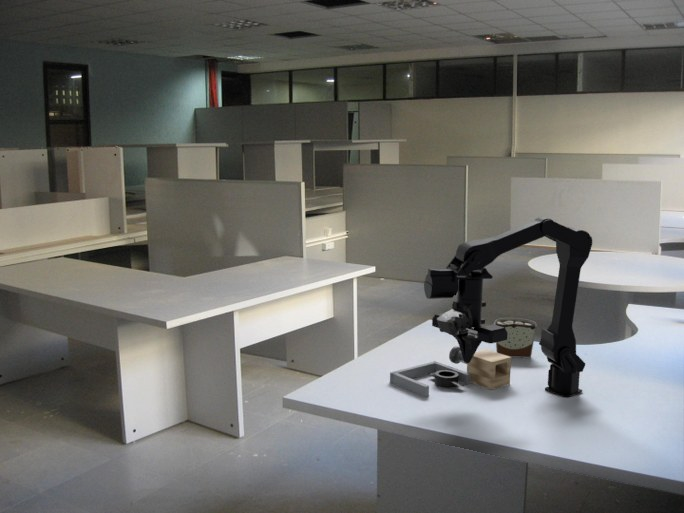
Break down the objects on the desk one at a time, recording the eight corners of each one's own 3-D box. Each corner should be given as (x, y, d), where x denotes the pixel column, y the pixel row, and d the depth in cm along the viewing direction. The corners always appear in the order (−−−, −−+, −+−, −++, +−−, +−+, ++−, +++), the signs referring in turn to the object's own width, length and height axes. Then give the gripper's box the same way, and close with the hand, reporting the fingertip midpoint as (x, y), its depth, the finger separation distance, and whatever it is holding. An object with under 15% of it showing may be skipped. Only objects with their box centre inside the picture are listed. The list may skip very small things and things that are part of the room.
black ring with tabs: (434, 392, 168) (434, 380, 168) (427, 378, 178) (428, 367, 178) (465, 392, 169) (466, 380, 168) (457, 378, 179) (458, 367, 178)
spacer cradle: (470, 383, 174) (470, 373, 173) (425, 396, 164) (425, 386, 164) (434, 370, 184) (435, 361, 183) (389, 382, 174) (390, 372, 174)
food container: (532, 351, 201) (534, 317, 199) (536, 358, 195) (538, 323, 193) (489, 349, 202) (490, 316, 200) (491, 356, 196) (493, 321, 194)
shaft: (495, 373, 175) (496, 356, 175) (483, 376, 173) (484, 359, 172) (460, 361, 185) (461, 345, 184) (448, 364, 182) (449, 347, 181)
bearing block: (509, 384, 174) (511, 357, 173) (490, 389, 170) (492, 362, 168) (485, 375, 180) (486, 349, 179) (466, 380, 176) (467, 354, 175)
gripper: (416, 294, 163) (414, 358, 166) (476, 310, 148) (473, 380, 151) (449, 288, 170) (447, 350, 172) (510, 303, 155) (507, 370, 158)
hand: (467, 362), depth 163 cm, fingers closed
